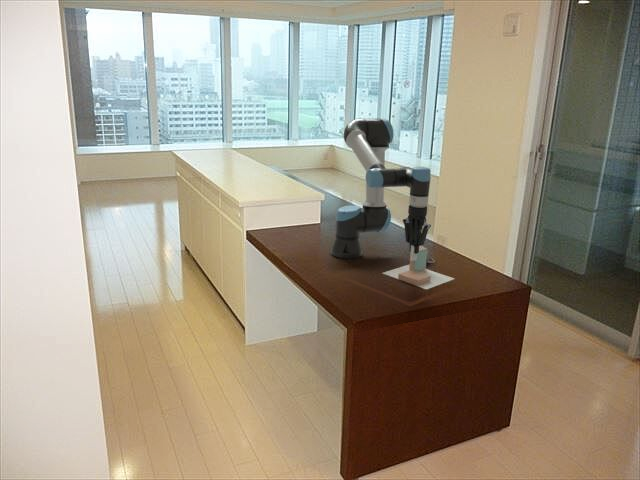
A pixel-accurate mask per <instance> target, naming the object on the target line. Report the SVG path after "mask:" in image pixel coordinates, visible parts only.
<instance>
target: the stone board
mask: <svg viewBox="0 0 640 480" xmlns="http://www.w3.org/2000/svg"><path fill="white" fill-rule="evenodd" d="M409 265H410V263H409V264H407V265H403V266H400V267H397V268H394V269H391V270H387V271H385V272H382V274H383V275H385V276H389V277H391V278H393V279H397V280H400V279H398V275H399V274H400V273H403V272H406V271H409ZM420 272H421V273H424V274H427V275H430V276H431V279H430V281H429V282H426V283H423V284H420V285H414V284H411V283H408V282H406V281H403V280H400V281H403V283H404V282H405V283H408V284H410V285H413V286H415V287H419V288H422V289H424V290H429V289H432V288H434V287H436V286H441V285H442V284H445V283H448V282H451V281H453V280H455V278H454V277H451V276H448V275H445V274H442V273H439V272H436V271H433V270H430V269H427V268H426V270H423V271H420Z"/></svg>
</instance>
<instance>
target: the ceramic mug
mask: <svg viewBox="0 0 640 480" xmlns="http://www.w3.org/2000/svg"><path fill="white" fill-rule="evenodd" d="M423 247H424V248H426V246H424V245H421V246H419V248H423ZM435 262H436V260H434V258H432V257H430V255H429V251H428V250H427V259H426V264H434V263H435Z"/></svg>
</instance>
